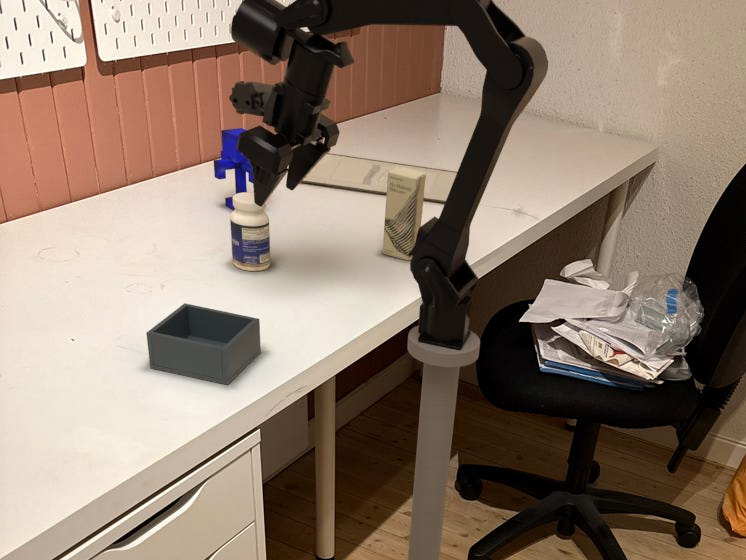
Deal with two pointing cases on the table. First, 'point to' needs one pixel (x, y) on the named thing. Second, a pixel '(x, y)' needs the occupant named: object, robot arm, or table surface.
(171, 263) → the table surface
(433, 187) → the picture frame
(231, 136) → the figurine
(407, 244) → the box
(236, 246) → the pill bottle
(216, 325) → the bin
